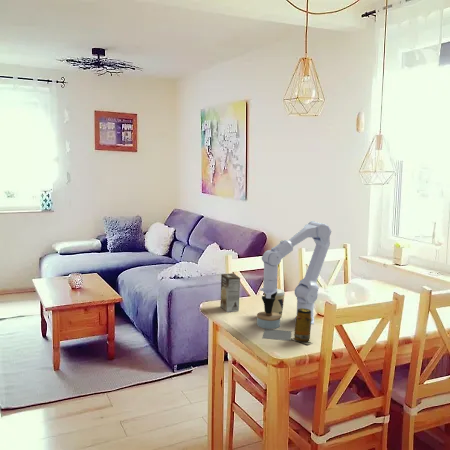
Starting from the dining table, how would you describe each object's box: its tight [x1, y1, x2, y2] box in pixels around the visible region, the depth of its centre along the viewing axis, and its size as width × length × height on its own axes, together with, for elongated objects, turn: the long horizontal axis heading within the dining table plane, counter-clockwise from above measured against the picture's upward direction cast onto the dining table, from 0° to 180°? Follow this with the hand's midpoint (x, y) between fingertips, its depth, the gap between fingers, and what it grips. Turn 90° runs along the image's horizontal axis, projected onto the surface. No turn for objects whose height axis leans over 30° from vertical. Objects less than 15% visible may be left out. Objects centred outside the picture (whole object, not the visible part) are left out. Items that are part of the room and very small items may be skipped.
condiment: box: [290, 308, 313, 345], centre depth 187 cm, size 7×8×12 cm
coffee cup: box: [263, 288, 286, 319], centre depth 216 cm, size 9×9×12 cm
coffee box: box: [220, 272, 241, 313], centre depth 225 cm, size 9×6×16 cm
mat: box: [261, 328, 292, 342], centre depth 192 cm, size 11×11×1 cm
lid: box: [256, 311, 282, 321], centre depth 203 cm, size 10×10×5 cm
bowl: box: [256, 317, 281, 330], centre depth 204 cm, size 10×10×4 cm
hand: (269, 310), depth 203 cm, fingers open, 7 cm apart
